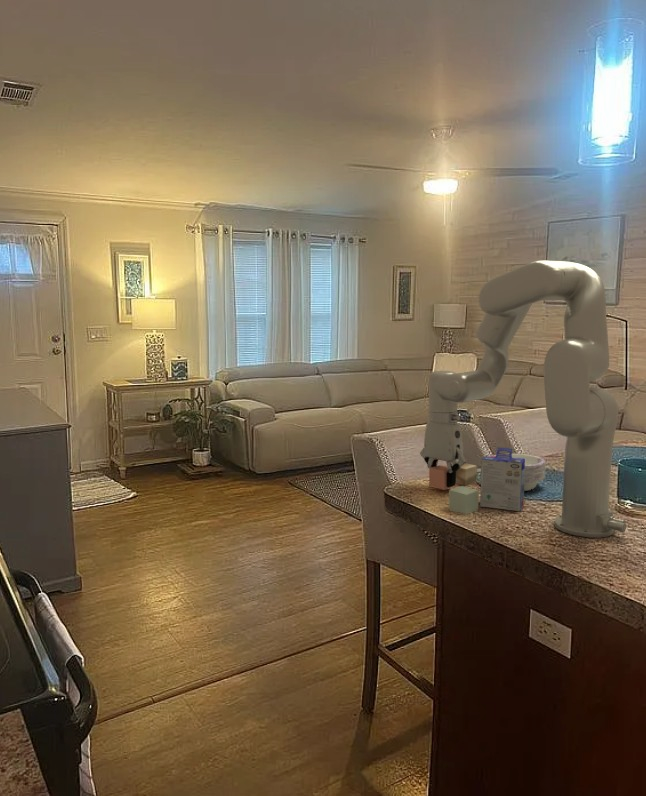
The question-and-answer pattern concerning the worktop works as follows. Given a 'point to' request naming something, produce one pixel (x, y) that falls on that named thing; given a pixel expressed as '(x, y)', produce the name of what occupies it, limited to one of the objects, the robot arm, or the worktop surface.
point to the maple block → (466, 475)
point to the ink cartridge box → (502, 481)
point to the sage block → (463, 499)
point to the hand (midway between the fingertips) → (442, 483)
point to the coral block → (438, 477)
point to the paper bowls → (532, 470)
